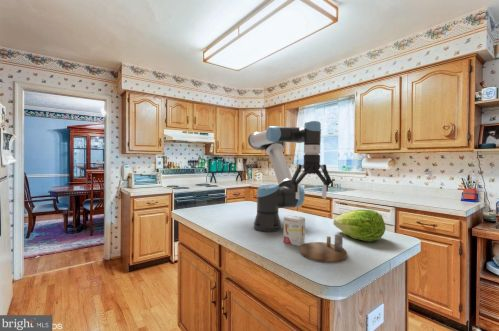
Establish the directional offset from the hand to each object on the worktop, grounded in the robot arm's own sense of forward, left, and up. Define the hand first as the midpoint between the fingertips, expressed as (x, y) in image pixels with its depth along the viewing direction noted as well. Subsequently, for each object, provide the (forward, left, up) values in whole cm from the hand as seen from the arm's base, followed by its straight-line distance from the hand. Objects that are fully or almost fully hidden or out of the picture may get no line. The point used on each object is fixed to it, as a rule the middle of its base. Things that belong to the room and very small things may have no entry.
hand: (310, 198), depth 121 cm
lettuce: (+23, +5, -19) cm, 30 cm away
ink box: (-8, -8, -19) cm, 22 cm away
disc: (+3, -19, -19) cm, 27 cm away
